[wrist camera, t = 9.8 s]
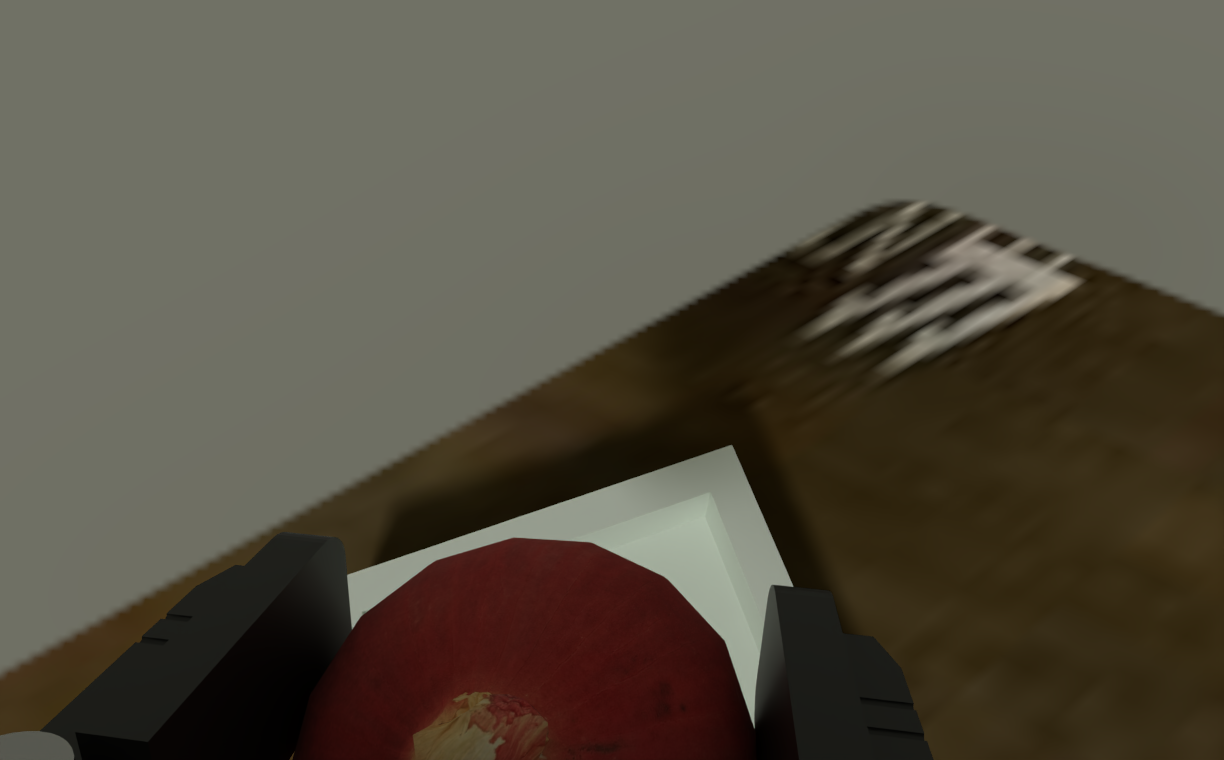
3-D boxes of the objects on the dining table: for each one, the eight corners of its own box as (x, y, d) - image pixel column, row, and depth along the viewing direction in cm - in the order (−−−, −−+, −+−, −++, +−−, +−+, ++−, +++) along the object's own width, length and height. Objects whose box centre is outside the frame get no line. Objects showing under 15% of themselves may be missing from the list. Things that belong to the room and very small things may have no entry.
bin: (723, 478, 27) (732, 444, 24) (902, 907, 21) (945, 938, 18) (357, 604, 26) (315, 585, 22) (444, 1093, 20) (404, 1161, 17)
